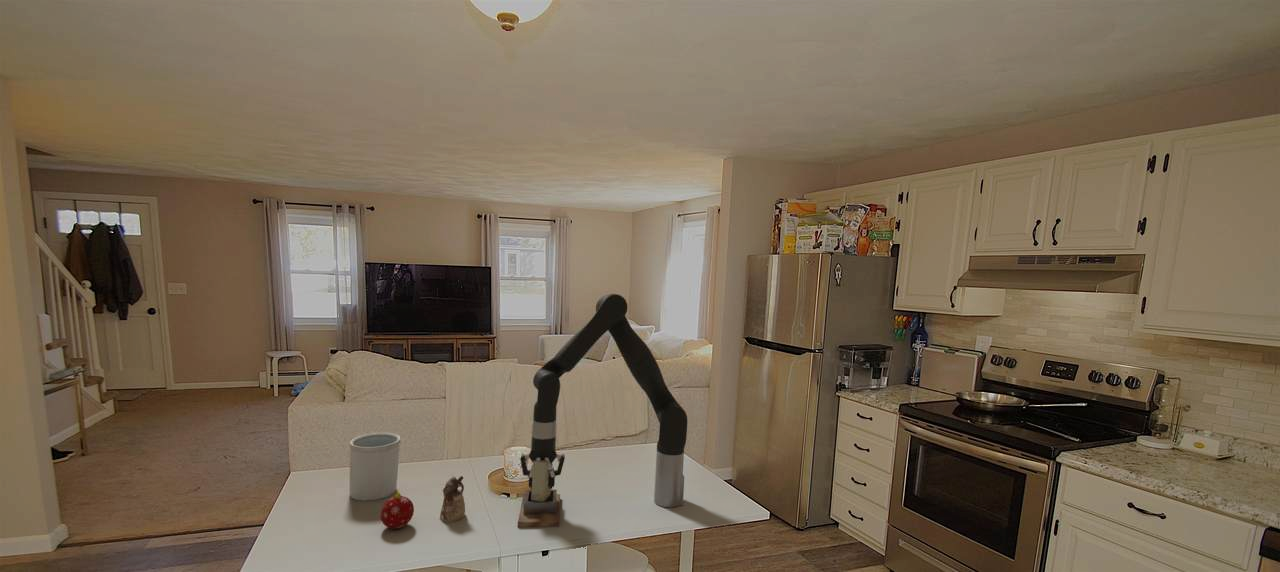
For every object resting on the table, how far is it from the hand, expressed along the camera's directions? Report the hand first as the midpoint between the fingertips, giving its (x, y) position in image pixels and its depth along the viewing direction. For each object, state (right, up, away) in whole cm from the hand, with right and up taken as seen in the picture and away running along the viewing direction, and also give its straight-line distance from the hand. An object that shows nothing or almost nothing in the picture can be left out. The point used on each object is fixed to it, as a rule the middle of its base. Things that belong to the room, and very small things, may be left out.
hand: (541, 487), depth 158 cm
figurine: (-26, -7, -6) cm, 27 cm away
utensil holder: (-57, -5, +8) cm, 58 cm away
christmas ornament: (-39, -6, -14) cm, 42 cm away
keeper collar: (0, -6, 0) cm, 6 cm away
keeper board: (0, -8, 0) cm, 8 cm away
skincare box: (0, -3, 0) cm, 3 cm away
